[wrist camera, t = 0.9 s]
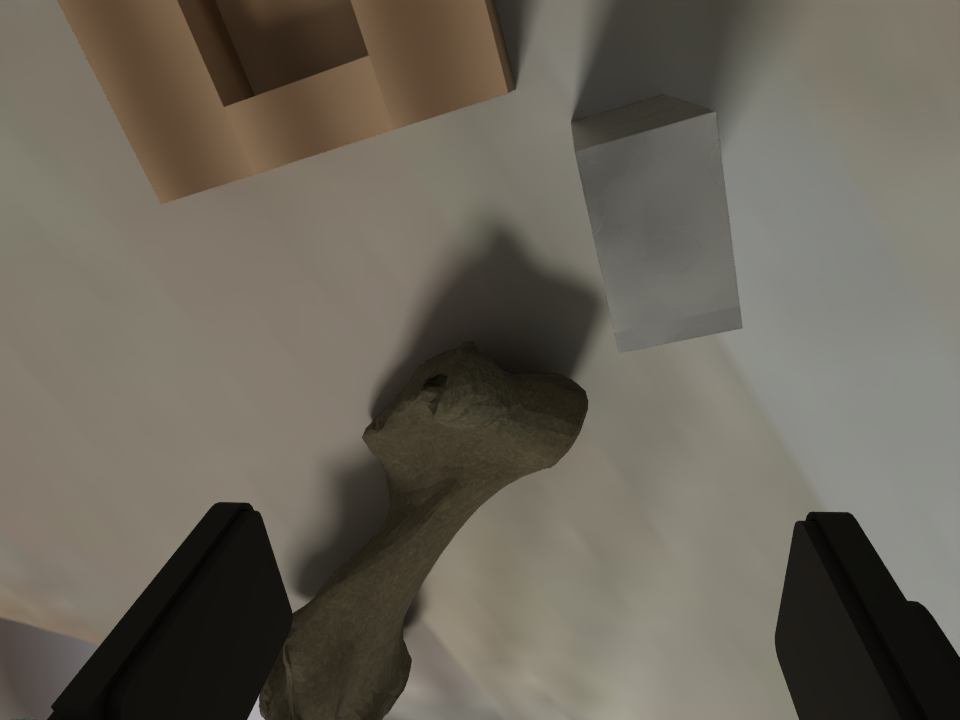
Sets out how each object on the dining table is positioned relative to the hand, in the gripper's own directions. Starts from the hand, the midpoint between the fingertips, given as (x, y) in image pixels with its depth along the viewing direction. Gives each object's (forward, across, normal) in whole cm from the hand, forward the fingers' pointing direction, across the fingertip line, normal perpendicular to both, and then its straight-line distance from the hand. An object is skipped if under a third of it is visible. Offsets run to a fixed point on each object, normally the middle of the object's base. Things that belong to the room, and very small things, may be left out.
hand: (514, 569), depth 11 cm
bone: (+21, +10, +17) cm, 29 cm away
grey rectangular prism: (+21, -4, -3) cm, 22 cm away
